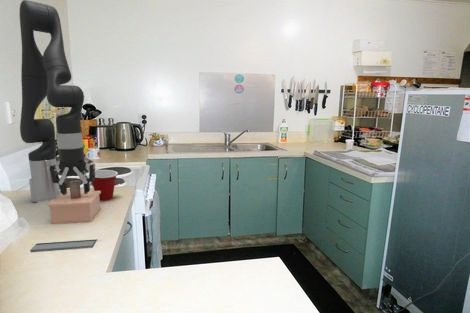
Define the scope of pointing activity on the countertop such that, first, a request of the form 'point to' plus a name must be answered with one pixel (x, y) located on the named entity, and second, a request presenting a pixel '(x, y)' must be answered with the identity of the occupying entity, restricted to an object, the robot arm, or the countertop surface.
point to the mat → (63, 245)
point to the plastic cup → (104, 183)
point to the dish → (75, 213)
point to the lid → (74, 197)
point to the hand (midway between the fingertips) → (75, 193)
